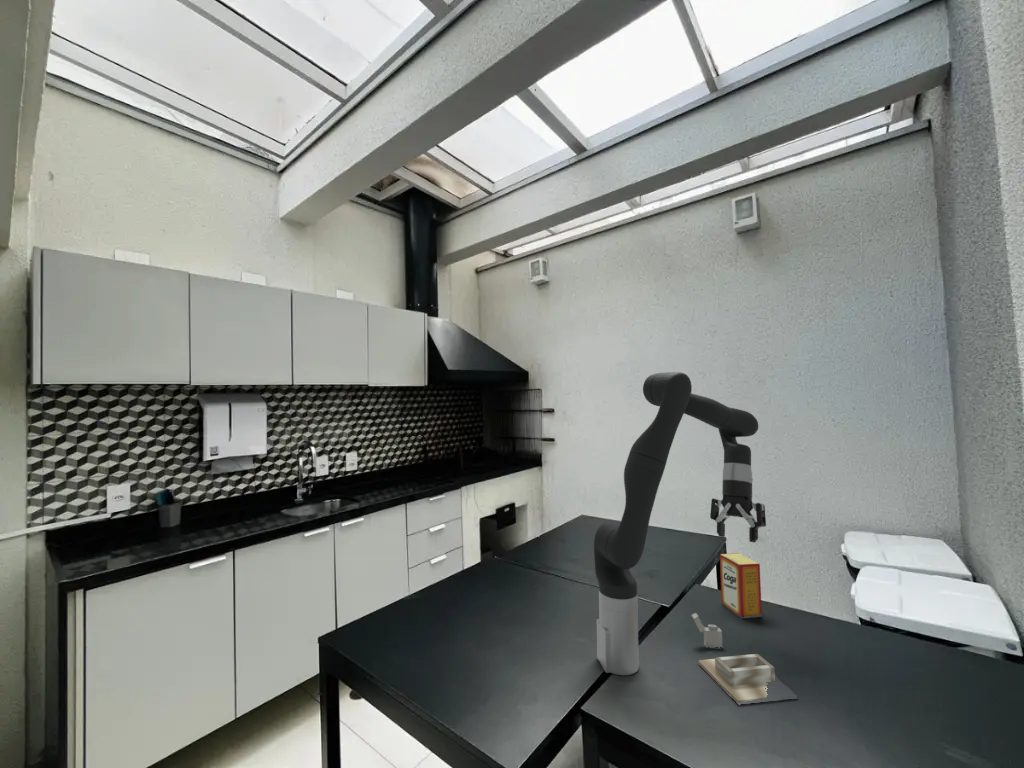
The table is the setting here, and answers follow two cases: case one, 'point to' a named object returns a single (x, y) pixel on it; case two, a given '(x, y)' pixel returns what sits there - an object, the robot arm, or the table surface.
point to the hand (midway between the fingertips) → (736, 539)
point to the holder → (741, 675)
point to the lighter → (709, 633)
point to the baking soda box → (740, 584)
